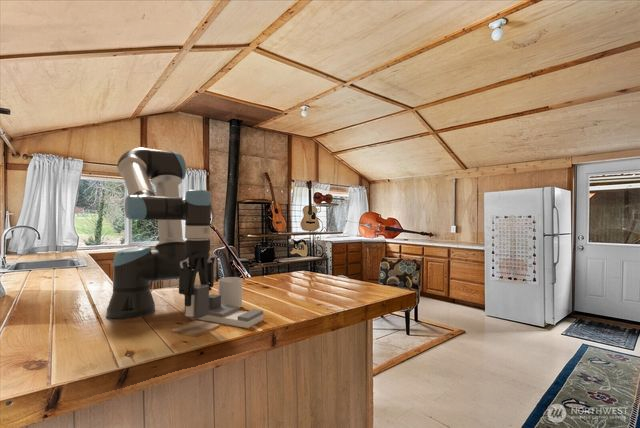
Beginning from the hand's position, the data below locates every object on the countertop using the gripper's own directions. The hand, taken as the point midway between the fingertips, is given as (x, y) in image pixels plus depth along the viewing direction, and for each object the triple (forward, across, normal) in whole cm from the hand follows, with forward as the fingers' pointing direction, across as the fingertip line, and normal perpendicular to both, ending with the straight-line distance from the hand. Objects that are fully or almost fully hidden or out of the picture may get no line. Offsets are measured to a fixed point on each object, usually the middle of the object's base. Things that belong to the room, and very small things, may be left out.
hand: (196, 313), depth 102 cm
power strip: (+5, +12, -2) cm, 13 cm away
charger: (+1, 0, 0) cm, 1 cm away
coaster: (+5, 0, 0) cm, 5 cm away
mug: (+5, +24, +6) cm, 25 cm away
